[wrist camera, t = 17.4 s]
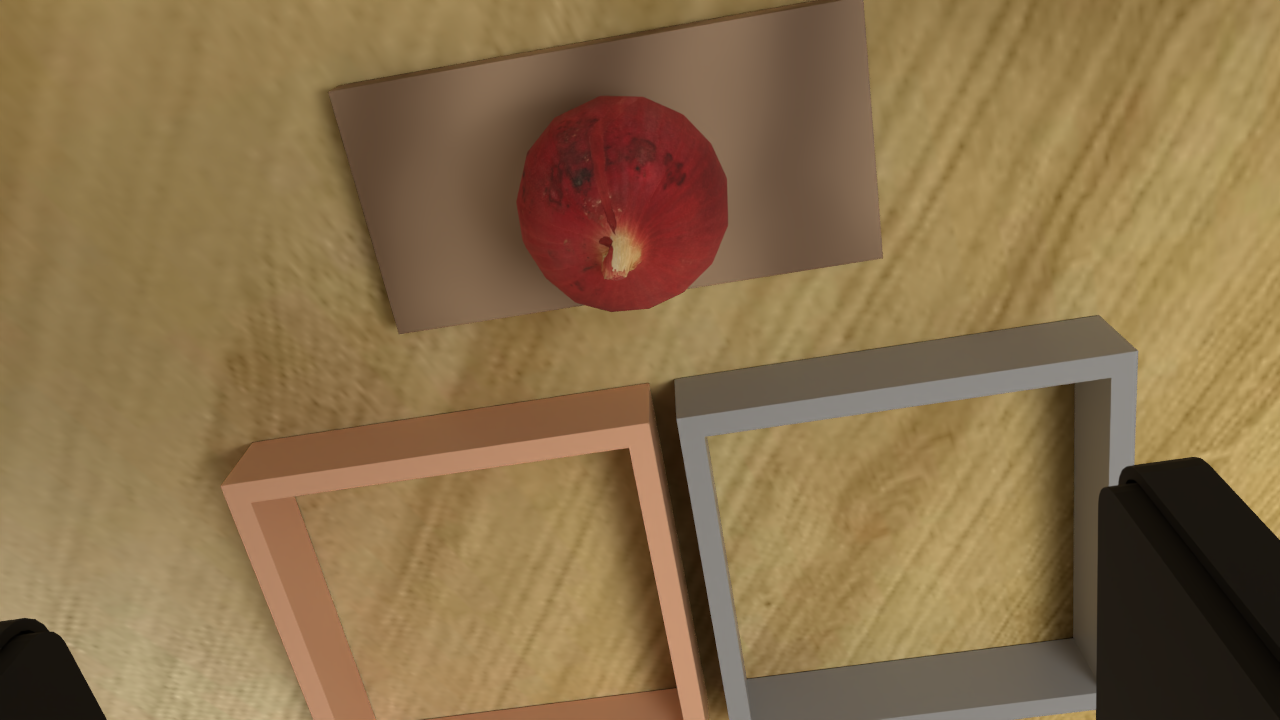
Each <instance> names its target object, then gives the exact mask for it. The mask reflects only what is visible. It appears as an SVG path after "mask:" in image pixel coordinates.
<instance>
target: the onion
mask: <svg viewBox="0 0 1280 720" xmlns="http://www.w3.org/2000/svg"><path fill="white" fill-rule="evenodd" d="M516 204H517V210H518V216H519V222H520V228H521V234H522V240H523V242H524V244H525V247H526V248H527V250H528V251H529V253H530V254H531V256H532V258H533V259H534V261H535V262H536V264H537V265H538V267H539V269H540V270H541V272H542V273H543V275H544V276H545V278H546V279H547V280H549V281H550V282H551V283H552V284H553V285H555V286H556V287H557V288H558V289H560V290H561V291H562V292H563V293H564V294H566V295H567V296H568V297H569V298H570V299H572V300H573V301H574V302H575V303H579V304H583V305H587V306H590V307H594V308H598V309H602V310H606V311H610V312H615V311H627V310H638V309H649V308H651V307H654V306H656V305H658V304H660V303H662V302H664V301H666V300H668V299H670V298H672V297H674V296H677V295H679V294H681V293H683V292H684V291H685V290H686V289H687V288H688V287H689V286H690V285H691V284H692V283H693V282H694V281H695V280H696V279H697V278H698V277H699V276H700V275H701V274H702V273H703V272H704V271H705V270H706V269H707V268H708V267H709V266H710V265H711V264H712V263H713V261H714V258H715V256H716V254H717V251H718V249H719V246H720V244H721V241H722V239H723V237H724V234H725V232H726V229H727V227H728V195H727V177H726V175H725V173H724V170H723V168H722V166H721V164H720V162H719V160H718V157H717V155H716V153H715V151H714V149H713V147H712V144H711V143H710V142H709V141H708V140H707V139H706V138H705V137H704V135H703V134H702V133H701V132H700V131H699V130H698V129H697V128H696V127H695V126H694V125H693V124H692V123H691V122H690V121H689V120H688V119H687V118H686V117H685V116H684V115H683V114H681V113H679V112H677V111H675V110H672V109H670V108H668V107H666V106H663V105H661V104H659V103H656V102H654V101H652V100H650V99H647V98H645V97H636V96H599V97H597V98H594V99H592V100H590V101H588V102H586V103H584V104H582V105H580V106H578V107H576V108H574V109H571V110H569V111H567V112H565V113H563V114H561V115H559V116H557V117H555V118H554V119H553V120H552V122H551V123H550V124H549V125H548V127H547V128H546V129H545V130H544V132H543V133H542V134H541V135H540V137H539V138H538V139H537V141H536V142H535V143H534V144H533V146H532V147H531V148H530V149H529V151H528V152H527V155H526V160H525V164H524V169H523V174H522V178H521V183H520V187H519V192H518V196H517V201H516Z"/></svg>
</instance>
